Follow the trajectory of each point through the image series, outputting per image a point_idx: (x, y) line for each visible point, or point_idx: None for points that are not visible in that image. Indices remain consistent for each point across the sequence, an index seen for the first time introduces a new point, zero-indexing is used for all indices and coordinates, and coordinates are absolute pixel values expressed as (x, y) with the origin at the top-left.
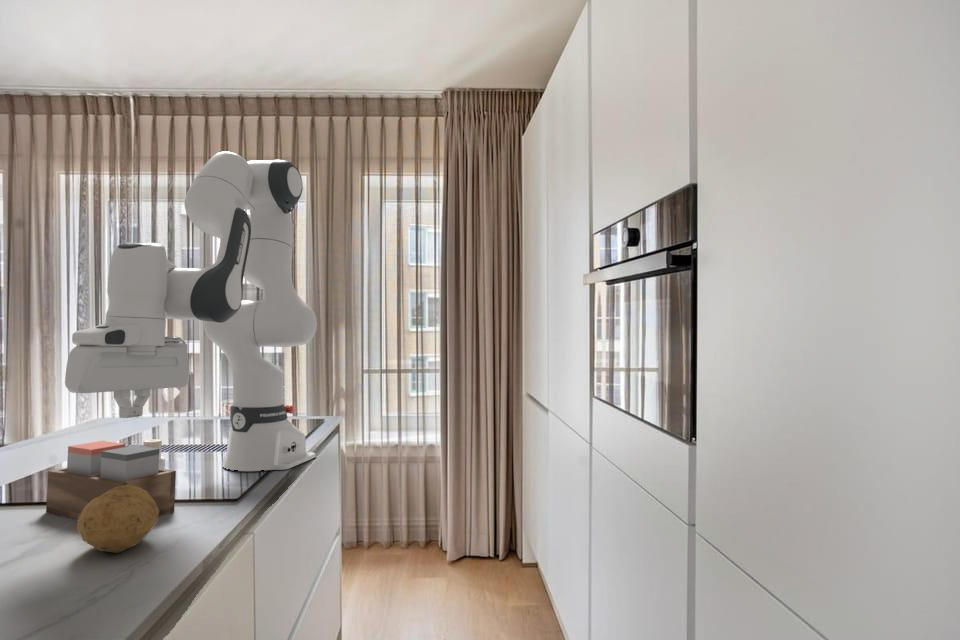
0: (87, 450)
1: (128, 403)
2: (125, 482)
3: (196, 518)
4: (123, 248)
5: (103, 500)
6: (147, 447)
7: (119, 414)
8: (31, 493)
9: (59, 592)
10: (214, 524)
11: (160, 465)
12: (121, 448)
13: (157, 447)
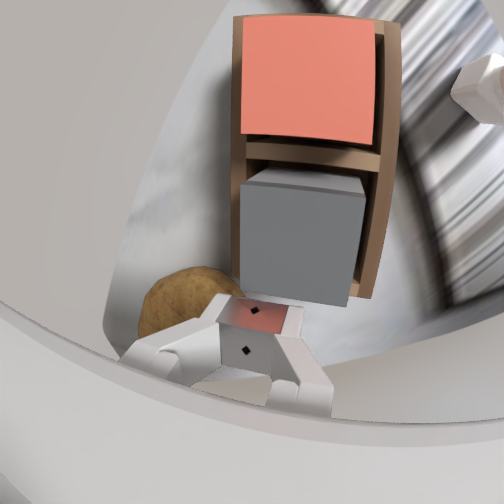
0: (242, 113)
1: (199, 376)
2: None
3: (342, 312)
4: None
5: (151, 334)
6: (349, 264)
7: (215, 295)
8: None
9: (131, 320)
10: (325, 347)
11: (499, 120)
12: (302, 202)
13: None
